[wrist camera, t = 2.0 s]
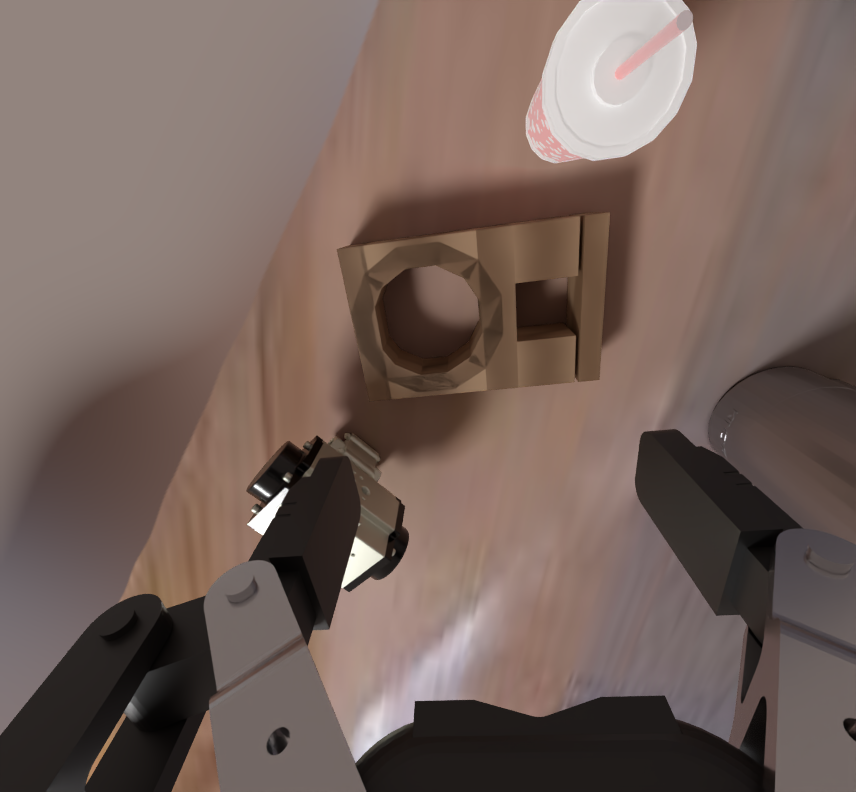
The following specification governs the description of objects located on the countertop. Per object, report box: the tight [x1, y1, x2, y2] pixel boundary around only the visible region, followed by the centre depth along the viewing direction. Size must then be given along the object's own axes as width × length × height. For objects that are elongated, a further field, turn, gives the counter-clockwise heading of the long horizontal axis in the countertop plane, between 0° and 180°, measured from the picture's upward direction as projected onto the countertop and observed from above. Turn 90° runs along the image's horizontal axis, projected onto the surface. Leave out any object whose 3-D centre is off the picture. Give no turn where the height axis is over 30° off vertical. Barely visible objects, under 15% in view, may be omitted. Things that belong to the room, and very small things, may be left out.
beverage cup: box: [526, 0, 697, 163], centre depth 18 cm, size 6×6×14 cm
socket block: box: [337, 212, 610, 401], centre depth 28 cm, size 17×11×4 cm, turn 97°
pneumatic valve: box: [246, 433, 409, 592], centre depth 30 cm, size 6×12×12 cm, turn 46°
